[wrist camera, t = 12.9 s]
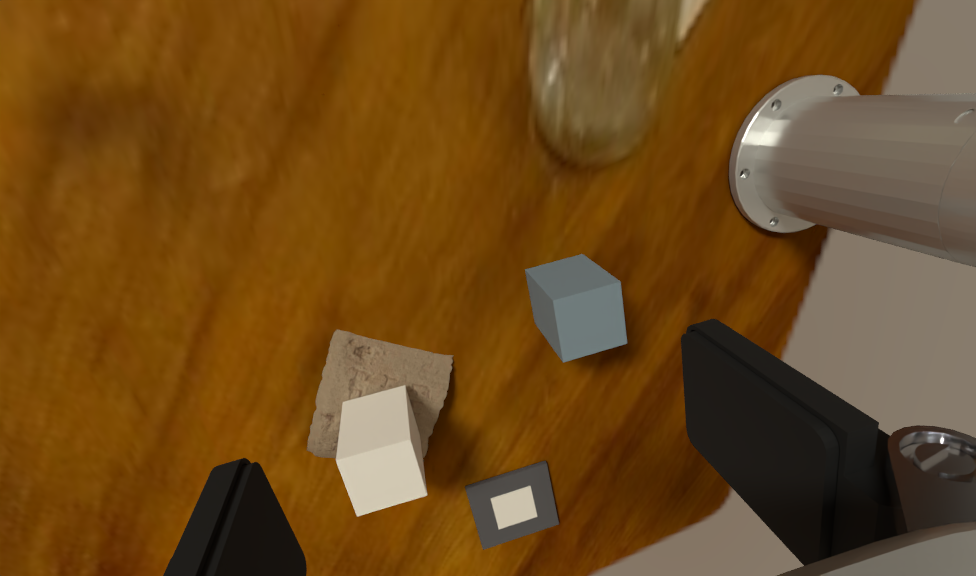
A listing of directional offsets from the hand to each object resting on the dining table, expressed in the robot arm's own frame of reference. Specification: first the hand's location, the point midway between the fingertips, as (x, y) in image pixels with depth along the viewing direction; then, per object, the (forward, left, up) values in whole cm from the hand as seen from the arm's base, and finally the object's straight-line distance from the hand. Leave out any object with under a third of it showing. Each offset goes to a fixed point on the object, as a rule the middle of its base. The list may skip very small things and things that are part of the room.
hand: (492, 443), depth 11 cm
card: (-2, +31, -28) cm, 42 cm away
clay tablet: (+7, +16, -29) cm, 34 cm away
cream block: (+7, +16, -26) cm, 32 cm away
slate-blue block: (-10, +10, -28) cm, 32 cm away
